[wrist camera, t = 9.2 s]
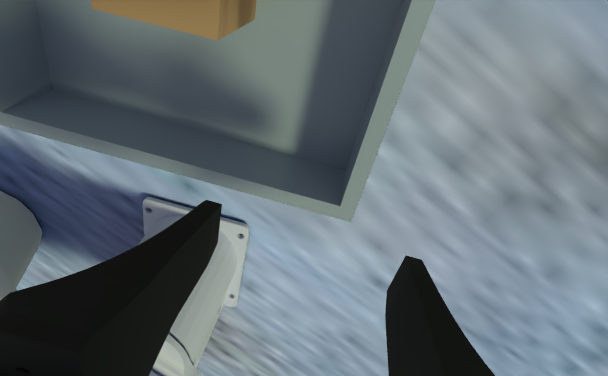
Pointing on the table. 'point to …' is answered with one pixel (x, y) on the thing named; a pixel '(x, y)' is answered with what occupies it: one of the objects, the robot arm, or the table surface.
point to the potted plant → (16, 242)
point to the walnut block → (185, 14)
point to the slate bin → (218, 91)
